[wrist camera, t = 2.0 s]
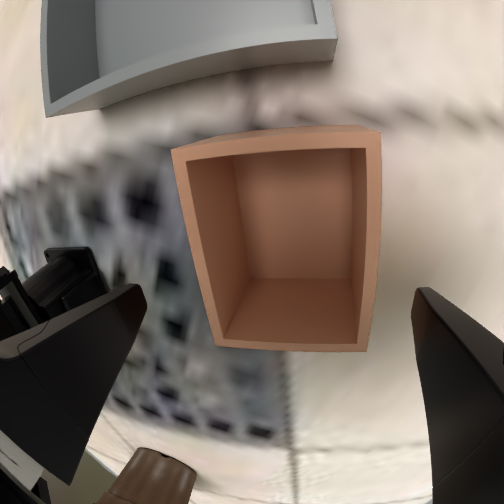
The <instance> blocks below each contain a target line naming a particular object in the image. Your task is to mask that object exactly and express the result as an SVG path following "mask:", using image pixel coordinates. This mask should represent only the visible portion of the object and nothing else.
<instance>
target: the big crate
mask: <svg viewBox="0 0 504 504" xmlns="http://www.w3.org/2000/svg"><path fill="white" fill-rule="evenodd" d="M337 39H338V38H337V32H336V27H335V22H334V16H333V12H332V7H331V2H330V0H42V8H41V31H40V50H41V74H42V88H43V98H44V107H45V115H46V118H48V117H53V116H59V115H64V114H70V113H76V112H83V111H90V110H98V109H102V108H104V107H107V106H109V105H112V104H115V103H117V102H120V101H123V100H126V99H128V98H131V97H134V96H137V95H140V94H143V93H146V92H150V91H153V90H156V89H160V88H163V87H166V86H170V85H174V84H177V83H181V82H185V81H189V80H193V79H197V78H202V77H206V76H211V75H216V74H221V73H226V72H231V71H237V70H243V69H249V68H256V67H263V66H271V65H280V64H290V63H302V62H318V61H333V58H334V53H335V49H336V44H337Z"/></svg>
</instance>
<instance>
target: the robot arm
mask: <svg viewBox="0 0 504 504" xmlns="http://www.w3.org/2000/svg"><path fill="white" fill-rule="evenodd" d="M44 255H45V258H46V260H47V263H48V264H46V265H45V266H44V267H42V268H41V269H40V270H38V271H37V272H36V273H35V274H33V275H32V276H31V277H29V278H28V279H27V280H26V281H24V282H23V283H22V284H21V282H20V280H19V278H18V274H17V272H16V271H15V270H13V271H12V272H10V271H9V270H7V269H6V268H5V267H4V266H3V267H1V268H0V295H1V297H2V298H3V299H2V300H0V504H51V501H50V496H49V491H48V487H47V481H46V480H44V479H43V478H42V477H40V475H41V474H42V472H43V471H44V469H46V470H47V471H48V472H50V473H51V474H52V475H54V476H55V477H57V478H58V479H60V480H61V481H63V482H64V483H65V484H67V485H68V486H70V484H71V483H72V480H73V478H74V475H75V472H76V470H77V467H78V465H79V462H80V460H81V457H82V455H83V452H84V450H85V448H86V445H87V443H88V440H89V439H88V438H90V435H91V433H92V431H93V428H94V426H95V424H96V421H97V419H98V417H99V415H100V412H101V410H102V408H103V406H104V404H105V401H106V399H107V397H108V395H109V393H110V391H111V388H112V386H113V384H114V382H115V380H116V378H117V376H118V374H119V372H120V370H121V368H122V366H123V364H124V362H125V360H126V357H127V355H128V353H129V351H130V350H131V347H132V345H133V343H134V341H135V338H136V336H137V333H138V331H139V328H140V326H141V323H142V321H143V318H144V316H145V313H146V311H147V302H146V299H145V296H144V294H143V291H142V288H141V286H140V285H138V284H127V285H125V286H123V287H120V288H118V289H116V290H114V291H111V292H109V293H107V294H106V292H105V289H104V287H103V284H102V282H101V279H100V277H99V274H98V271H97V269H96V266H95V263H94V260H93V257H92V255H91V252H90V250H89V249H88V248H87V247H73V248H48V249H46V250H45V251H44ZM411 320H412V327H413V335H414V344H415V353H416V361H417V367H418V371H419V376H420V382H421V387H422V393H423V398H424V405H425V411H426V418H427V425H428V434H429V443H430V453H431V466H432V486H433V488H432V491H433V504H504V342H502V341H501V340H500V339H499V338H497V337H496V336H495V335H494V334H492V333H491V332H490V331H488V330H487V329H486V328H485V327H483V326H482V325H481V324H479V323H478V322H477V321H475V320H474V319H473V318H471V317H470V316H469V315H467V314H466V313H465V312H463V311H462V310H461V309H459V308H458V307H457V306H455V305H454V304H452V303H451V302H450V301H448V300H447V299H445V298H444V297H443V296H441V295H440V294H438V293H437V292H436V291H434V290H433V289H431V288H430V287H419V288H417V289H416V291H415V296H414V301H413V305H412V310H411Z"/></svg>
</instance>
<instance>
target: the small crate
mask: <svg viewBox="0 0 504 504" xmlns="http://www.w3.org/2000/svg"><path fill="white" fill-rule="evenodd" d="M171 154H172V160H173V165H174V171H175V176H176V181H177V186H178V191H179V196H180V201H181V206H182V211H183V216H184V221H185V225H186V230H187V234H188V239H189V243H190V248H191V252H192V256H193V261H194V265H195V269H196V273H197V277H198V281H199V285H200V289H201V293H202V297H203V301H204V305H205V309H206V313H207V316H208V320H209V324H210V327H211V331H212V335H213V338H214V342H215V345H216V346H225V347H236V348H248V349H262V350H279V351H304V352H366V351H367V346H368V340H369V334H370V328H371V321H372V315H373V307H374V300H375V291H376V282H377V272H378V261H379V248H380V232H381V207H382V158H381V134H380V132H378V131H375V130H372V129H369V128H366V127H363V126H360V125H326V126H304V127H289V128H276V129H265V130H255V131H246V132H238V133H230V134H223V135H219V136H215V137H212V138H208V139H204V140H201V141H197V142H194V143H191V144H187V145H184V146H181V147H177V148H174V149H171Z"/></svg>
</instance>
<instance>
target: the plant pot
mask: <svg viewBox="0 0 504 504" xmlns="http://www.w3.org/2000/svg"><path fill="white" fill-rule="evenodd" d="M195 479H196V473H195V472H194V471H193V470H191V469H190V468H189V467H188V466H186V465H185V464H183V463H181V462H179V461H177V460H175V459H173V458H171V457H168V458H165V457H163V456H162V455H161V453H159V452H156V451H153V450H150V449H147V448H138V449H137V450H136V452H135V453H134V455H133V456H132V457H131V459H130V460H129V462H128V463H127V465H126V466H125V467H124V469H123V470H122V472H121V473H120V475H119V476H118V477H117V479H116V480H115V482H114V483H113V485H112V486H111V487H110V488H109V490H108V491H107V492H104V494H103V495H102V497H101V498H100V499H99V500H98V502H97V503H96V504H188V502H189V499H190V496H191V492H192V489H193V486H194V482H195ZM93 504H95V503H93Z"/></svg>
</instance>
